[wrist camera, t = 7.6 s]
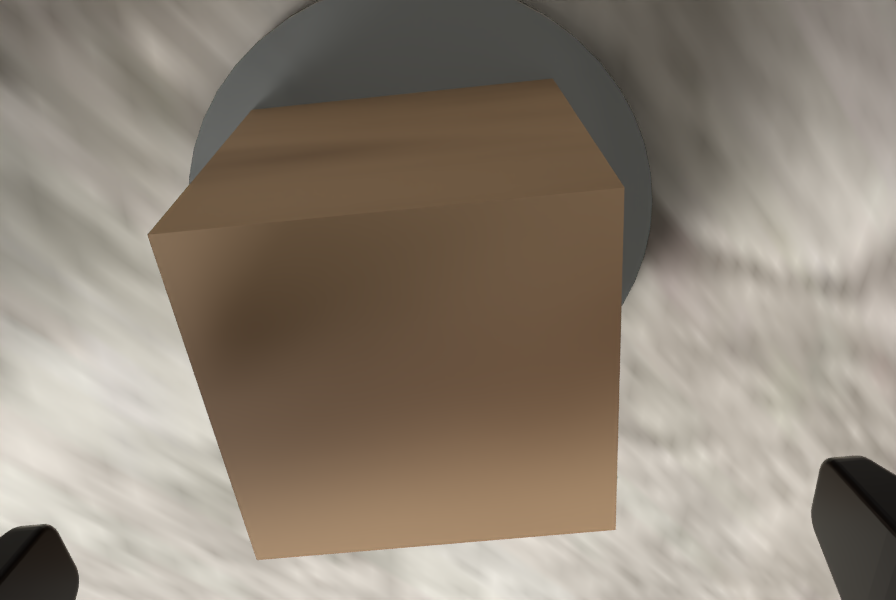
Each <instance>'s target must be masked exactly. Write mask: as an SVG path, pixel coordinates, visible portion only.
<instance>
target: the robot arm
mask: <svg viewBox="0 0 896 600" xmlns="http://www.w3.org/2000/svg"><path fill="white" fill-rule="evenodd" d="M811 517H812V524H813V528H814V531H815V534H816V536H817V539H818V541H819V544H820V546H821V549H822V551H823V554H824V556H825V559H826V562H827V564H828V567H829V569H830V572H831V574H832V577H833V579H834V582H835V584H836V587H837V589H838V592H839V594H840V597H841V600H896V475H895V474H893V473H891V472H890V471H888V470H886V469H885V468H883V467H882V466H880V465H878V464H877V463H875V462H873V461H872V460H870V459H868V458H866V457H863V456H845V457H833V458H828V459H826V460H825V461H824V462H823V463H822V464H821V467H820V471H819V475H818V480H817V485H816V489H815V494H814V499H813V503H812V509H811ZM78 587H79V575H78V570H77V568H76V565H75V563H74V562H73V560H72V558H71V556H70V554H69V552H68V550H67V548H66V546H65V544H64V543H63V541H62V539H61V537H60V535H59V533H58V531H57V530H56V529H55V528H54V527H52V526H51V525H47V524H40V525H29V526H19V527H16V528H13V529H11V530H10V531H8V532H7V533H5V534H4V535H3V536H1V537H0V600H76V596H77V592H78Z"/></svg>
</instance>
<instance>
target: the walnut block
mask: <svg viewBox="0 0 896 600" xmlns="http://www.w3.org/2000/svg"><path fill="white" fill-rule="evenodd" d="M624 189H625V187H624V186H623V184H622V183H621V181H620V180H619V178H618V177H617V175H616V174H615V172H614V171H613V169H612V168H611V166H610V165H609V163H608V162H607V160H606V159H605V157H604V156H603V154H602V152H601V151H600V149H599V148H598V146H597V145H596V143H595V142H594V140H593V139H592V137H591V136H590V134H589V133H588V131H587V130H586V128H585V127H584V125H583V124H582V122H581V121H580V119H579V118H578V116H577V114H576V113H575V111H574V110H573V108H572V107H571V105H570V104H569V102H568V101H567V99H566V98H565V96H564V95H563V93H562V92H561V90H560V89H559V87H558V86H557V84H556V83H555V81H554V80H553V79H543V80H533V81H524V82H514V83H505V84H495V85H485V86H476V87H466V88H457V89H447V90H437V91H428V92H418V93H409V94H399V95H389V96H380V97H370V98H361V99H351V100H341V101H332V102H322V103H313V104H303V105H293V106H284V107H274V108H265V109H255V110H251V111H250V112H249V114H248V115H247V116H246V117H245V118H244V120H243V121H242V122H241V123H240V124H239V126H238V127H237V128H236V129H235V130H234V132H233V133H232V134H231V135H230V136H229V138H228V139H227V140H226V141H225V142H224V144H223V145H222V146H221V147H220V148H219V150H218V151H217V152H216V153H215V154H214V156H213V157H212V158H211V159H210V160H209V162H208V163H207V164H206V165H205V166H204V168H203V169H202V170H201V171H200V172H199V174H198V175H197V176H196V177H195V178H194V180H193V181H192V182H191V183H190V184H189V186H188V187H187V188H186V189H185V190H184V192H183V193H182V194H181V195H180V196H179V198H178V199H177V200H176V201H175V202H174V204H173V205H172V206H171V207H170V208H169V210H168V211H167V212H166V213H165V214H164V216H163V217H162V218H161V219H160V220H159V222H158V223H157V224H156V225H155V226H154V228H153V229H152V230H151V231H150V232H149V234H148V238H149V241H150V244H151V247H152V250H153V253H154V256H155V259H156V262H157V265H158V268H159V271H160V273H161V276H162V279H163V282H164V285H165V288H166V291H167V294H168V297H169V300H170V303H171V306H172V309H173V312H174V315H175V318H176V321H177V324H178V327H179V330H180V333H181V336H182V339H183V342H184V345H185V348H186V351H187V354H188V357H189V360H190V363H191V366H192V369H193V372H194V375H195V377H196V380H197V383H198V386H199V389H200V392H201V395H202V398H203V401H204V404H205V407H206V410H207V413H208V416H209V419H210V422H211V425H212V428H213V431H214V434H215V437H216V440H217V443H218V446H219V449H220V452H221V455H222V458H223V461H224V464H225V467H226V470H227V473H228V476H229V479H230V481H231V484H232V487H233V490H234V493H235V496H236V499H237V502H238V505H239V508H240V511H241V514H242V517H243V520H244V523H245V526H246V529H247V532H248V535H249V538H250V541H251V544H252V547H253V550H254V553H255V556H256V559H257V560H263V559H275V558H287V557H299V556H311V555H322V554H334V553H346V552H358V551H370V550H382V549H393V548H405V547H417V546H429V545H441V544H453V543H464V542H476V541H488V540H500V539H512V538H524V537H535V536H547V535H559V534H571V533H583V532H595V531H607V530H615V529H616V491H617V453H618V416H619V378H620V340H621V302H622V264H623V227H624Z"/></svg>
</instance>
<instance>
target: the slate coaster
mask: <svg viewBox="0 0 896 600" xmlns="http://www.w3.org/2000/svg"><path fill="white" fill-rule="evenodd" d="M543 79H553V80H554V81H555V83H556V84H557V86H558V87H559V89H560V90H561V92H562V93H563V95H564V96H565V98H566V99H567V101H568V102H569V104H570V105H571V107H572V108H573V110H574V111H575V113H576V114H577V116H578V118H579V119H580V121H581V122H582V124H583V125H584V127H585V128H586V130H587V131H588V133H589V134H590V136H591V137H592V139H593V140H594V142H595V143H596V145H597V146H598V148H599V149H600V151H601V152H602V154H603V156H604V157H605V159H606V160H607V162H608V163H609V165H610V166H611V168H612V169H613V171H614V172H615V174H616V175H617V177H618V178H619V180H620V181H621V183H622V184H623V186H624V187H625V189H624V227H623V264H622V302H621V306H622V305H623V303H624V301H625V299H626V297H627V295H628V293H629V291H630V289H631V287H632V286H633V284H634V282H635V279H636V277H637V274H638V271H639V269H640V266H641V263H642V260H643V258H644V254H645V250H646V245H647V241H648V236H649V232H650V224H651V212H652V188H651V172H650V167H649V163H648V158H647V153H646V148H645V144H644V141H643V138H642V136H641V133H640V130H639V127H638V125H637V122H636V119H635V116H634V114H633V112H632V111H631V109H630V107H629V105H628V103H627V101H626V100H625V98H624V96H623V94H622V92H621V90H620V89H619V87H618V86H617V85H616V83H615V82H614V81H613V79H612V78H611V77H610V75H609V74H608V72H607V71H606V70H605V68H604V67H603V66H602V64H601V63H600V62H599V61H598V60H597V59H596V58H595V57H594V56H593V55H592V54H591V53H590V52H589V51H588V50H587V49H586V48H585V47H584V46H583V45H582V44H581V43H580V42H579V41H578V40H577V39H576V38H575V37H574V36H573V35H572V34H570V33H569V32H568V31H566V30H565V29H564V28H562V27H561V26H560V25H558V24H557V23H556V22H554V21H553V20H552V19H550V18H549V17H547V16H546V15H544V14H543V13H541V12H539V11H537V10H535V9H533V8H531V7H530V6H528V5H526V4H524V3H522V2H520V1H518V0H319V1H317V2H315V3H313V4H312V5H310V6H308V7H306V8H305V9H303V10H301V11H299V12H297V13H296V14H294V15H292V16H290V17H289V18H288V19H286V20H285V21H284V22H282V23H281V24H280V25H279V26H277V27H276V28H275V29H273V30H272V31H271V32H270V33H268V34H267V35H266V36H264V37H263V38H262V39H261V40H260V41H258V42H257V44H256V45H255V46H254V47H253V48H252V49H251V50H250V51H249V52H248V53H247V54H246V55H245V56H244V57H243V58H242V59H241V60H240V61H239V62H238V63H237V64H236V65H235V67H234V68H233V70H232V71H231V73H230V74H229V75H228V77H227V78H226V80H225V81H224V83H223V84H222V85H221V87H220V88H219V90H218V91H217V93H216V95H215V97H214V99H213V101H212V103H211V105H210V107H209V109H208V111H207V113H206V115H205V117H204V119H203V122H202V125H201V128H200V131H199V134H198V137H197V140H196V144H195V147H194V152H193V158H192V164H191V170H190V176H189V184H190V183H191V182H192V181H193V180H194V178H195V177H196V176H197V175H198V174H199V172H200V171H201V170H202V169H203V168H204V166H205V165H206V164H207V163H208V162H209V160H210V159H211V158H212V157H213V156H214V154H215V153H216V152H217V151H218V150H219V148H220V147H221V146H222V145H223V144H224V142H225V141H226V140H227V139H228V138H229V136H230V135H231V134H232V133H233V132H234V130H235V129H236V128H237V127H238V126H239V124H240V123H241V122H242V121H243V120H244V118H245V117H246V116H247V115H248V114H249V112H250V111H251V110H255V109H265V108H274V107H284V106H293V105H303V104H313V103H322V102H332V101H341V100H351V99H361V98H370V97H380V96H389V95H399V94H409V93H418V92H428V91H437V90H447V89H457V88H466V87H476V86H485V85H495V84H505V83H514V82H524V81H533V80H543Z"/></svg>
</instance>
